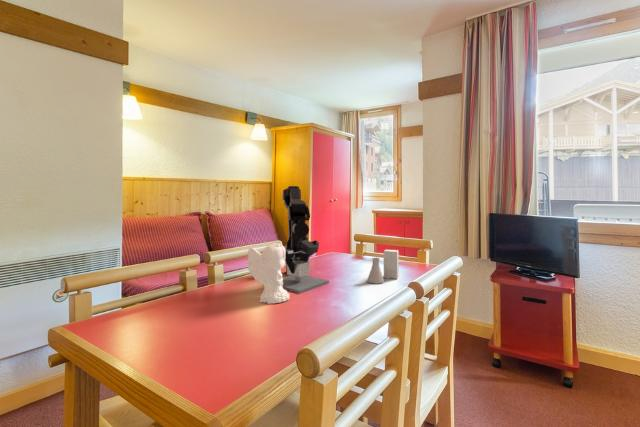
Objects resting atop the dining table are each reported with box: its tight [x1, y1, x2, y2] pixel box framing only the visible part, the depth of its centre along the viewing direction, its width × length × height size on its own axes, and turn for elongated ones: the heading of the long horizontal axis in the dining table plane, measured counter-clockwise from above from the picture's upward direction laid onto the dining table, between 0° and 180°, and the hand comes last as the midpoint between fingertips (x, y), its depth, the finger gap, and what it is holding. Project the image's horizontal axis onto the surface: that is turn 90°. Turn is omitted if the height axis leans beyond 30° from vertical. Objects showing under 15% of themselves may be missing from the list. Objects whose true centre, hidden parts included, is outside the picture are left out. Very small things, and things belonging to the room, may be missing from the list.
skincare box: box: [383, 249, 400, 280], centre depth 147 cm, size 6×4×12 cm
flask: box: [366, 257, 385, 285], centre depth 141 cm, size 7×7×10 cm
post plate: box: [282, 275, 330, 294], centre depth 137 cm, size 18×18×7 cm
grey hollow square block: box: [286, 260, 310, 277], centre depth 137 cm, size 6×6×5 cm
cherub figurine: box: [246, 241, 290, 305], centre depth 118 cm, size 13×12×20 cm
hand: (298, 271), depth 137 cm, fingers closed on grey hollow square block, 6 cm apart
